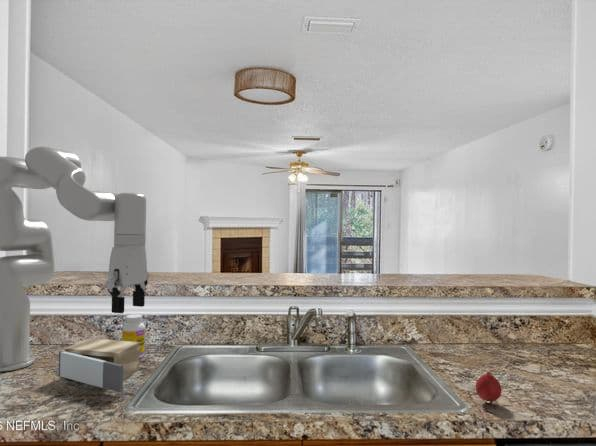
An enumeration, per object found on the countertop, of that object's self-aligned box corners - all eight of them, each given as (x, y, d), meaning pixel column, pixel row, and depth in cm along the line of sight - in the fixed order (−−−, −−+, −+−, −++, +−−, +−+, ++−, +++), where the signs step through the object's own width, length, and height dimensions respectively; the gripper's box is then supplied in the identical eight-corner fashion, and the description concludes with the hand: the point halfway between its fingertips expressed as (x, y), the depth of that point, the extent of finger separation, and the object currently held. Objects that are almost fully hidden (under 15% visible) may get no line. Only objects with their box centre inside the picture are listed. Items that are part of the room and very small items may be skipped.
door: (57, 375, 110) (57, 351, 110) (61, 374, 112) (62, 350, 111) (119, 392, 101) (120, 366, 101) (123, 391, 102) (124, 365, 102)
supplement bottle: (136, 361, 126) (137, 319, 126) (117, 359, 127) (118, 317, 127) (148, 354, 133) (149, 314, 133) (130, 352, 134) (130, 313, 134)
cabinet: (63, 377, 112) (64, 348, 112) (88, 365, 122) (89, 338, 121) (117, 383, 109) (118, 353, 109) (138, 370, 119) (139, 342, 119)
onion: (471, 397, 105) (472, 366, 105) (494, 398, 105) (495, 367, 105) (480, 408, 100) (481, 375, 100) (505, 409, 99) (506, 375, 99)
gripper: (137, 239, 116) (136, 302, 116) (93, 242, 99) (92, 315, 99) (161, 240, 114) (160, 304, 114) (121, 243, 97) (119, 317, 97)
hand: (128, 309), depth 107 cm, fingers open, 7 cm apart
